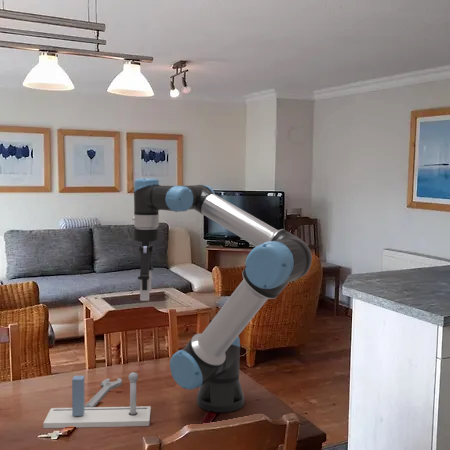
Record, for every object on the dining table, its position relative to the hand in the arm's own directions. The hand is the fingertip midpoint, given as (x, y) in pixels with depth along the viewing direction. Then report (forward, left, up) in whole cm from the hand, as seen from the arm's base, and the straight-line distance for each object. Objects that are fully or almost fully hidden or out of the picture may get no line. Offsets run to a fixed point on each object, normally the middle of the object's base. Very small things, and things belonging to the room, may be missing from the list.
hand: (145, 295), depth 174 cm
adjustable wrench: (+15, -6, -35) cm, 39 cm away
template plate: (+13, +12, -35) cm, 39 cm away
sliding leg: (+19, +12, -33) cm, 40 cm away
